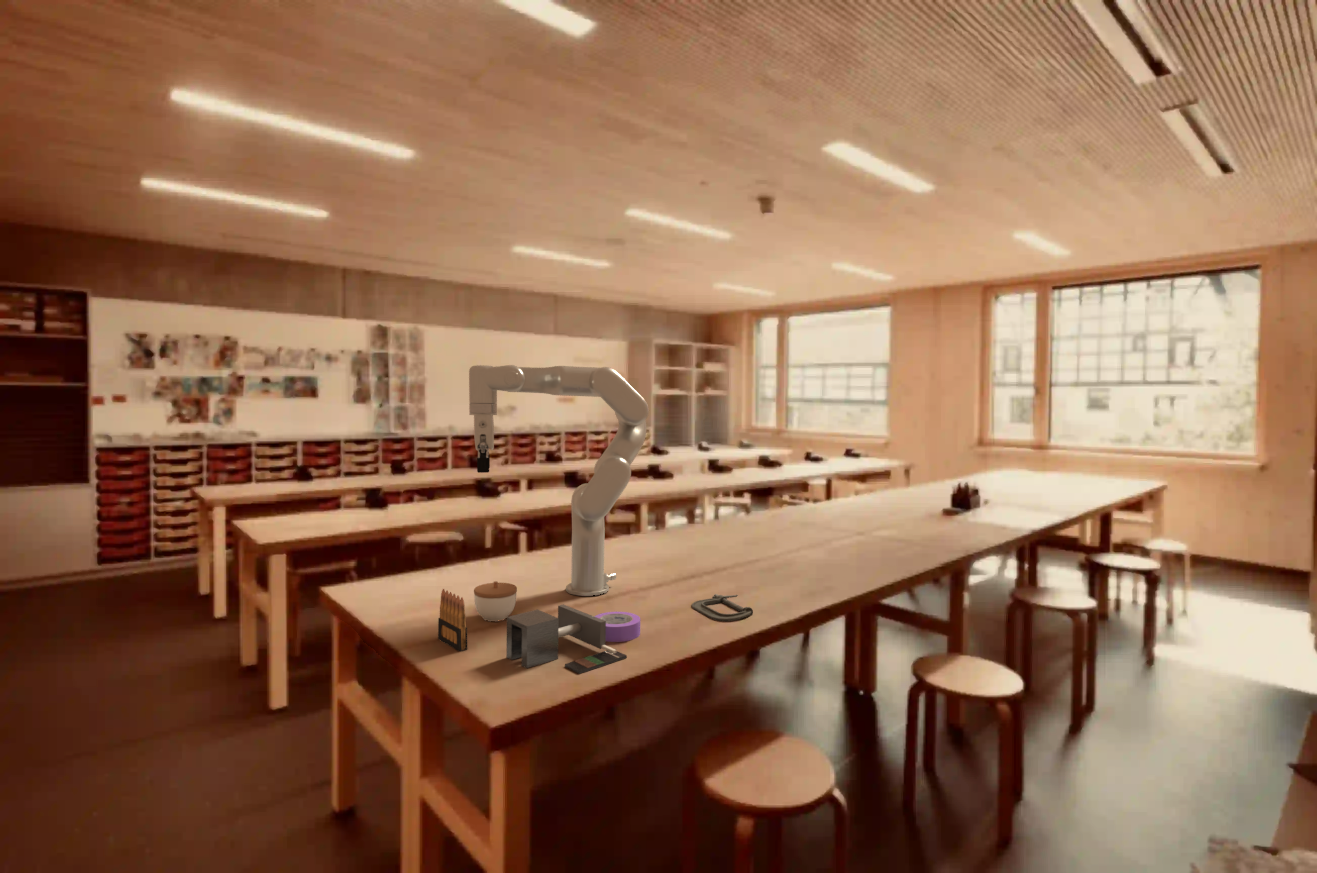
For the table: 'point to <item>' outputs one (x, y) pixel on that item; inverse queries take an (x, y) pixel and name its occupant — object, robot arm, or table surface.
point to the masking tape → (620, 626)
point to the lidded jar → (495, 600)
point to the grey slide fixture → (546, 643)
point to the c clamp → (715, 615)
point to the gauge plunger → (582, 627)
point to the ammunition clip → (452, 621)
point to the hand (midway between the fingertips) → (483, 470)
